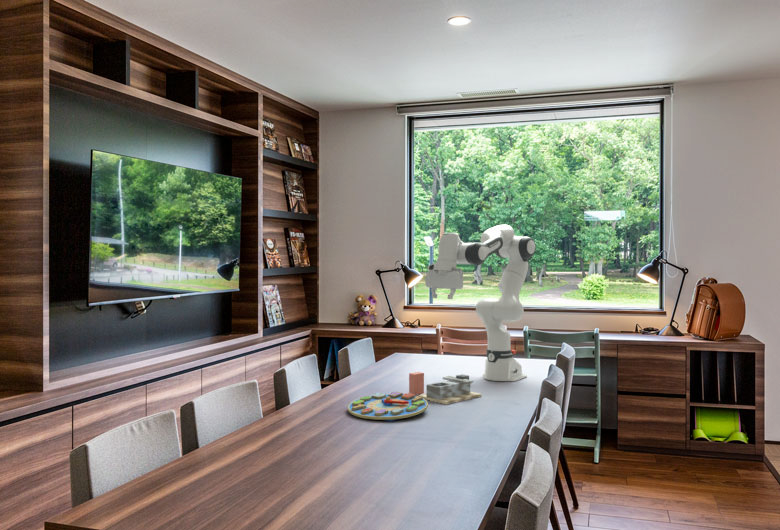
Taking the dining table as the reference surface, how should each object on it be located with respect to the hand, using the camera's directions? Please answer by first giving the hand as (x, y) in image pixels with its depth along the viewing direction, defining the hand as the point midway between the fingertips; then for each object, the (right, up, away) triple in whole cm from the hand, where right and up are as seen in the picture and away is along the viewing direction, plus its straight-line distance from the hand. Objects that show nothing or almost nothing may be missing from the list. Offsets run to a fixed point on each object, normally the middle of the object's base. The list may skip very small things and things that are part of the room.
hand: (442, 298), depth 280 cm
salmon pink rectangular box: (-12, -41, -8) cm, 43 cm away
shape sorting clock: (-24, -42, -39) cm, 62 cm away
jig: (+2, -41, -14) cm, 43 cm away
